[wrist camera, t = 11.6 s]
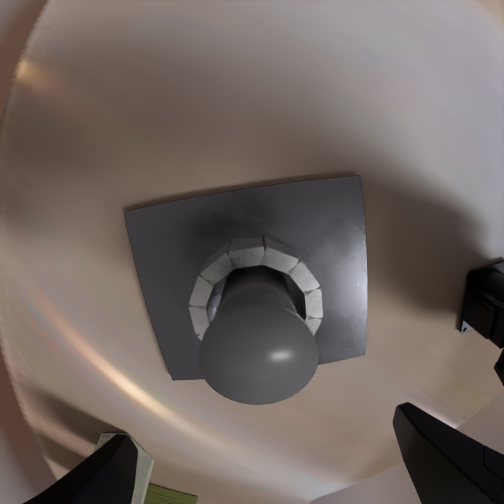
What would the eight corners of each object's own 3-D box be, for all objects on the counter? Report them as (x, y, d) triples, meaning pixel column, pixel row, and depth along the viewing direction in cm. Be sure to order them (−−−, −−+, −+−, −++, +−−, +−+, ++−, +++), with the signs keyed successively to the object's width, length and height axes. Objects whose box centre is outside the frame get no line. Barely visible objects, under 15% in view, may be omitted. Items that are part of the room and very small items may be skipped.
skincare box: (101, 431, 25) (65, 506, 13) (127, 431, 24) (94, 516, 12) (130, 461, 26) (105, 533, 14) (157, 462, 26) (136, 540, 14)
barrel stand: (357, 175, 18) (379, 175, 14) (362, 350, 21) (377, 376, 18) (127, 211, 18) (103, 218, 15) (174, 376, 22) (164, 404, 18)
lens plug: (289, 250, 19) (315, 301, 11) (297, 320, 20) (319, 395, 12) (211, 262, 19) (185, 318, 11) (225, 330, 20) (213, 408, 12)
